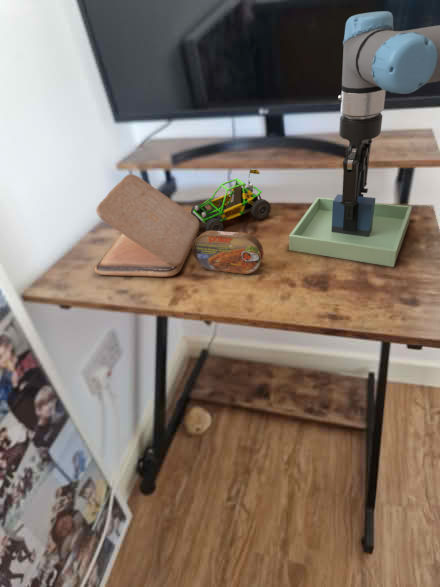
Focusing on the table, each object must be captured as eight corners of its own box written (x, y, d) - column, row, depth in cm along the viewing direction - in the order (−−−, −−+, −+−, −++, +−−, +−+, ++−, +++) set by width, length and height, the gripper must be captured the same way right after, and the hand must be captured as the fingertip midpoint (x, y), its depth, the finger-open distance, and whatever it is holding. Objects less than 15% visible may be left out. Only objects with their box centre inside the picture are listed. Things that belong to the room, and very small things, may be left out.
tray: (409, 220, 91) (412, 206, 89) (393, 267, 78) (396, 251, 76) (316, 210, 101) (317, 196, 98) (289, 250, 88) (288, 235, 86)
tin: (194, 268, 87) (188, 234, 82) (200, 260, 89) (194, 226, 84) (261, 276, 81) (259, 240, 76) (266, 268, 83) (264, 232, 78)
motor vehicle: (191, 220, 105) (184, 182, 98) (256, 199, 110) (253, 161, 103) (208, 238, 96) (202, 197, 90) (278, 215, 101) (277, 174, 95)
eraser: (371, 229, 89) (375, 197, 84) (368, 237, 87) (371, 205, 82) (335, 224, 93) (337, 194, 88) (331, 232, 90) (332, 201, 86)
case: (180, 279, 84) (164, 209, 74) (90, 276, 89) (65, 211, 79) (204, 230, 99) (193, 167, 90) (127, 231, 105) (109, 171, 95)
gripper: (351, 101, 82) (344, 207, 96) (328, 127, 71) (323, 242, 85) (391, 101, 79) (377, 210, 93) (372, 127, 68) (360, 247, 82)
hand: (351, 225), depth 89 cm, fingers closed on eraser, 3 cm apart
